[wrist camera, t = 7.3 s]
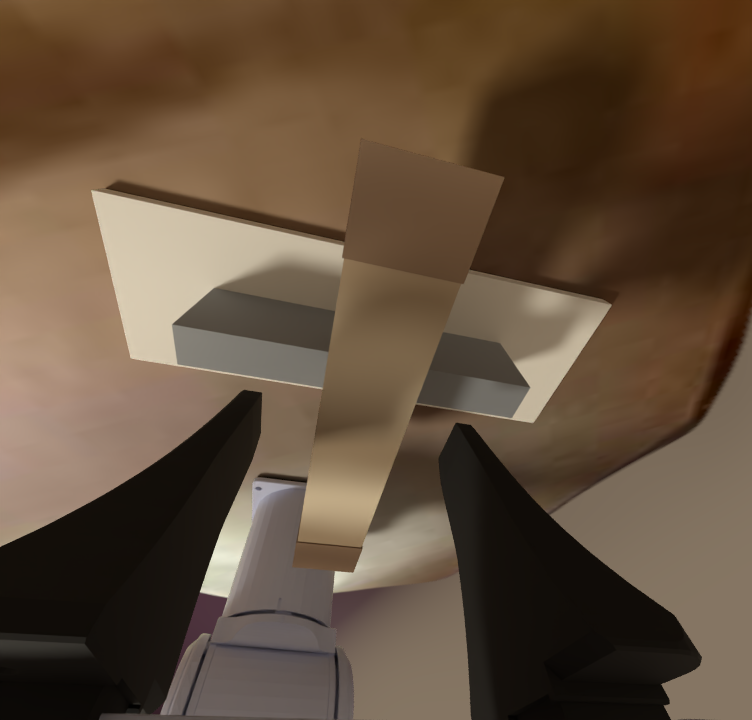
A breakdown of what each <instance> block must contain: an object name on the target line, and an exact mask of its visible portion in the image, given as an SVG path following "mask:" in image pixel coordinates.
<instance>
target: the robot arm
mask: <svg viewBox="0 0 752 720" xmlns="http://www.w3.org/2000/svg"><path fill="white" fill-rule="evenodd" d="M261 407H262V393H261V392H254V391H248V390H243V391H242V392H240V393H239V394H238V395H237V396H236V397H235V398H234V399H233V400H232V401H231V402H230V403H229V404H228V405H227V406H226V407H224V408H223V409H222V410H221V411H220V412H219V413H218V414H217V415H216V416H214V417H213V418H212V419H211V420H210V421H209V422H207V423H206V424H205V425H204V426H203V427H202V428H200V429H199V430H198V431H197V432H196V433H194V434H193V435H192V436H191V437H189V438H188V439H187V440H185V441H184V442H183V443H181V444H180V445H179V446H178V447H176V448H175V449H174V450H172V451H171V452H170V453H168V454H167V455H165V456H164V457H163V458H161V459H160V460H158V461H157V462H155V463H154V464H152V465H151V466H149V467H148V468H146V469H145V470H143V471H142V472H140V473H139V474H137V475H136V476H134V477H132V478H131V479H129V480H127V481H126V482H124V483H123V484H121V485H119V486H118V487H116V488H114V489H113V490H111V491H109V492H108V493H106V494H104V495H102V496H101V497H99V498H97V499H95V500H93V501H92V502H90V503H88V504H86V505H84V506H82V507H80V508H78V509H77V510H75V511H73V512H71V513H69V514H67V515H65V516H63V517H62V518H60V519H58V520H56V521H54V522H52V523H50V524H48V525H46V526H44V527H42V528H40V529H38V530H36V531H34V532H32V533H29V534H27V535H25V536H23V537H21V538H19V539H16V540H14V541H12V542H10V543H8V544H6V545H3V546H1V547H0V720H353V710H354V687H353V674H352V668H351V664H350V661H349V660H348V658H347V656H346V653H345V651H344V649H343V648H342V647H341V646H335V645H336V629H334V628H330V621H331V609H332V597H333V585H334V574H335V571H330V570H318V569H307V568H295V567H292V565H293V559H294V552H295V546H296V540H297V535H298V530H299V525H300V519H301V514H302V509H303V504H304V498H305V492H306V486H307V483H303V482H295V481H286V480H278V479H270V478H262V477H257V478H255V479H254V481H253V487H252V525H251V528H250V531H249V534H248V537H247V540H246V543H245V546H244V550H243V553H242V556H241V559H240V562H239V565H238V568H237V571H236V575H235V578H234V581H233V584H232V587H231V590H230V593H229V596H228V600H227V603H226V606H225V609H224V612H223V615H222V617H219V618H218V621H217V624H216V627H215V630H214V633H213V636H212V639H211V634H201V635H200V636H199V638H198V640H196V641H194V642H193V643H192V644H191V645H190V646H189V647H188V648H187V650H186V652H185V654H184V656H183V658H182V660H181V662H180V665H179V667H178V670H177V672H176V674H175V677H174V679H173V675H174V672H175V668H176V665H177V662H178V659H179V655H180V652H181V649H182V646H183V642H184V639H185V636H186V633H187V630H188V626H189V623H190V620H191V617H192V614H193V611H194V608H195V605H196V602H197V598H198V596H199V593H200V590H201V587H202V584H203V581H204V578H205V575H206V572H207V569H208V566H209V563H210V560H211V557H212V554H213V551H214V548H215V546H216V543H217V540H218V537H219V534H220V532H221V529H222V527H223V524H224V522H225V519H226V517H227V515H228V513H229V511H230V508H231V506H232V504H233V502H234V500H235V497H236V495H237V493H238V491H239V489H240V486H241V484H242V482H243V480H244V477H245V475H246V473H247V471H248V469H249V466H250V464H251V462H252V459H253V456H254V453H255V450H256V447H257V444H258V440H259V437H260V434H261ZM439 470H440V479H441V486H442V491H443V496H444V500H445V504H446V509H447V513H448V517H449V522H450V526H451V530H452V535H453V539H454V543H455V548H456V554H457V559H458V567H459V574H460V582H461V590H462V598H463V607H464V616H465V628H466V640H467V652H468V667H469V684H470V704H471V719H472V720H671V719H670V717H669V715H668V713H667V711H666V709H665V708H664V706H663V705H668V704H670V702H669V698H668V696H667V694H666V693H665V691H664V689H663V687H662V685H661V684H662V683H665V682H668V681H670V680H672V679H675V678H677V677H680V676H682V675H684V674H687V673H689V672H691V671H693V670H695V669H696V668H697V667H699V666H700V663H701V659H702V657H701V655H700V654H699V652H698V651H697V649H696V648H695V646H694V644H693V643H692V642H691V640H690V638H689V637H688V635H687V634H686V632H685V631H684V629H683V628H682V626H681V625H680V623H679V621H678V620H677V618H676V617H675V616H674V615H673V614H672V613H671V612H669V611H668V610H666V609H665V608H664V607H662V606H661V605H659V604H658V603H656V602H655V601H654V600H652V599H651V598H649V597H648V596H647V595H645V594H644V593H642V592H641V591H639V590H638V589H637V588H635V587H634V586H632V585H631V584H630V583H628V582H627V581H626V580H624V579H623V578H622V577H621V576H619V575H618V574H617V573H615V572H614V571H613V570H612V569H610V568H609V567H608V566H606V565H605V564H604V563H603V562H601V561H600V560H599V559H598V558H597V557H595V556H594V555H593V554H591V553H590V552H589V551H588V550H587V549H586V548H584V547H583V546H582V545H581V544H580V543H579V542H578V541H577V540H575V539H574V538H573V537H572V536H571V535H570V534H569V533H567V532H566V531H565V530H564V529H563V528H562V527H561V526H560V525H559V524H558V523H557V522H556V521H554V519H552V518H551V516H549V515H548V514H547V513H546V512H545V511H544V510H543V509H542V508H541V507H540V506H539V505H538V504H537V503H536V501H535V500H534V499H533V498H532V497H531V496H530V495H529V494H528V493H527V492H526V491H525V490H524V488H523V487H522V486H521V485H520V484H519V483H518V482H517V481H516V479H515V478H514V477H513V476H512V475H511V474H510V472H509V471H508V470H507V469H506V468H505V466H504V465H503V464H502V463H501V462H500V460H499V459H498V458H497V457H496V455H495V454H494V453H493V452H492V450H491V449H490V448H489V447H488V445H487V444H486V443H485V442H484V440H483V439H482V438H481V437H480V435H479V434H478V433H477V432H476V430H475V429H474V428H473V427H472V426H471V425H467V424H461V423H455V425H454V427H453V430H452V432H451V434H450V436H449V438H448V440H447V442H446V444H445V446H444V448H443V450H442V452H441V454H440V456H439ZM210 641H211V642H210ZM172 679H173V682H172ZM171 682H172V684H171ZM170 685H171V687H170ZM164 701H165V703H164V705H163V708H162V711H161V714H160V715H152V714H151V713H153V712H154V711H155V710H156V709H157V708H158V707H159V706H160V705H161V704H162V703H163V702H164ZM680 720H700V719H680ZM702 720H703V719H702Z"/></svg>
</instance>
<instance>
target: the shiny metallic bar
mask: <svg viewBox="0 0 752 720" xmlns="http://www.w3.org/2000/svg"><path fill="white" fill-rule="evenodd" d="M504 178H505V177H502V176H498V175H495V174H491V173H487V172H483V171H480V170H476V169H472V168H468V167H465V166H461V165H457V164H454V163H450V162H446V161H442V160H439V159H435V158H431V157H428V156H424V155H420V154H416V153H413V152H409V151H405V150H402V149H398V148H394V147H390V146H387V145H383V144H379V143H375V142H372V141H368V140H364V139H361V142H360V149H359V155H358V161H357V167H356V173H355V180H354V186H353V192H352V198H351V205H350V211H349V217H348V223H347V229H346V236H345V242H344V248H343V254H342V258H344V262H343V268H342V274H341V280H340V286H339V292H338V298H337V304H336V310H335V316H334V322H333V328H332V334H331V340H330V347H329V353H328V359H327V365H326V371H325V377H324V383H323V389H322V395H321V401H320V407H319V413H318V419H317V426H316V432H315V438H314V444H313V450H312V456H311V462H310V468H309V474H308V480H307V486H306V492H305V498H304V504H303V509H302V514H301V519H300V525H299V530H298V535H297V540H296V546H295V552H294V559H293V565H292V567H295V568H307V569H318V570H330V571H341V572H352V573H353V572H354V569H355V567H356V564H357V562H358V559H359V556H360V554H361V551H362V545H363V542H364V539H365V537H366V534H367V531H368V529H369V526H370V523H371V521H372V518H373V516H374V513H375V510H376V508H377V505H378V502H379V500H380V497H381V494H382V492H383V489H384V487H385V484H386V481H387V479H388V476H389V473H390V471H391V468H392V465H393V463H394V460H395V457H396V455H397V452H398V450H399V447H400V444H401V442H402V439H403V436H404V434H405V431H406V428H407V426H408V423H409V420H410V418H411V415H412V413H413V410H414V407H415V405H416V402H417V399H418V397H419V394H420V391H421V389H422V386H423V383H424V381H425V378H426V376H427V373H428V370H429V368H430V365H431V362H432V360H433V357H434V354H435V352H436V349H437V346H438V344H439V341H440V339H441V336H442V333H443V331H444V328H445V325H446V323H447V320H448V317H449V315H450V312H451V310H452V307H453V304H454V302H455V299H456V296H457V294H458V291H459V288H460V286H461V284H464V282H465V280H466V277H467V275H468V272H469V269H470V267H471V264H472V262H473V259H474V256H475V254H476V251H477V249H478V246H479V243H480V241H481V238H482V236H483V233H484V230H485V228H486V225H487V222H488V220H489V217H490V215H491V212H492V209H493V207H494V204H495V202H496V199H497V196H498V194H499V191H500V189H501V186H502V183H503V181H504Z"/></svg>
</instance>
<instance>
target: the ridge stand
mask: <svg viewBox="0 0 752 720" xmlns="http://www.w3.org/2000/svg"><path fill="white" fill-rule="evenodd" d="M91 191H92V196H93V200H94V204H95V208H96V213H97V217H98V221H99V225H100V230H101V234H102V238H103V242H104V247H105V251H106V255H107V259H108V263H109V268H110V272H111V276H112V280H113V285H114V289H115V293H116V297H117V302H118V306H119V310H120V314H121V319H122V323H123V327H124V331H125V335H126V340H127V344H128V348H129V352H130V357H131V359H137V360H143V361H150V362H156V363H162V364H168V365H175V366H181V367H187V368H193V369H200V370H206V371H212V372H218V373H225V374H231V375H237V376H243V377H249V378H256V379H262V380H268V381H274V382H281V383H287V384H293V385H299V386H306V387H312V388H318V389H323V383H324V377H325V371H326V365H327V359H328V353H329V347H330V340H331V334H332V328H333V322H334V316H335V310H336V304H337V298H338V292H339V286H340V280H341V274H342V268H343V262H344V258H342V254H343V248H344V242H343V241H339V240H334V239H330V238H325V237H321V236H316V235H312V234H307V233H303V232H298V231H294V230H289V229H285V228H280V227H276V226H271V225H267V224H262V223H258V222H253V221H249V220H244V219H240V218H235V217H231V216H226V215H222V214H217V213H213V212H208V211H204V210H199V209H195V208H190V207H186V206H181V205H177V204H172V203H168V202H163V201H159V200H154V199H150V198H145V197H141V196H136V195H132V194H127V193H123V192H118V191H114V190H109V189H105V188H102V189H95V190H91ZM611 306H612V305H611V304H610V303H608V302H606V301H605V300H603V299H599V298H595V297H590V296H586V295H581V294H577V293H572V292H568V291H563V290H559V289H554V288H550V287H545V286H541V285H536V284H532V283H527V282H523V281H518V280H514V279H509V278H505V277H500V276H496V275H491V274H487V273H482V272H478V271H473V270H469V272H468V275H467V277H466V280H465V282H464V284H461V286H460V288H459V291H458V294H457V296H456V299H455V302H454V304H453V307H452V310H451V312H450V315H449V317H448V320H447V323H446V325H445V328H444V331H443V333H442V336H441V339H440V341H439V344H438V346H437V349H436V352H435V354H434V357H433V360H432V362H431V365H430V368H429V370H428V373H427V376H426V378H425V381H424V383H423V386H422V389H421V391H420V394H419V397H418V399H417V402H416V404H418V405H424V406H430V407H437V408H443V409H449V410H455V411H462V412H468V413H474V414H480V415H487V416H493V417H499V418H505V419H512V420H518V421H524V422H530V423H534V421H535V420H536V418H537V417H538V415H539V414H540V412H541V411H542V409H543V408H544V406H545V405H546V403H547V402H548V400H549V399H550V397H551V396H552V394H553V393H554V391H555V390H556V388H557V387H558V385H559V384H560V382H561V381H562V379H563V378H564V376H565V375H566V373H567V372H568V370H569V369H570V367H571V366H572V364H573V363H574V361H575V360H576V358H577V357H578V355H579V354H580V352H581V351H582V349H583V348H584V346H585V345H586V343H587V342H588V340H589V339H590V337H591V336H592V334H593V333H594V331H595V330H596V328H597V327H598V325H599V324H600V322H601V321H602V319H603V318H604V316H605V315H606V313H607V312H608V310H609V309H610V307H611Z"/></svg>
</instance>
